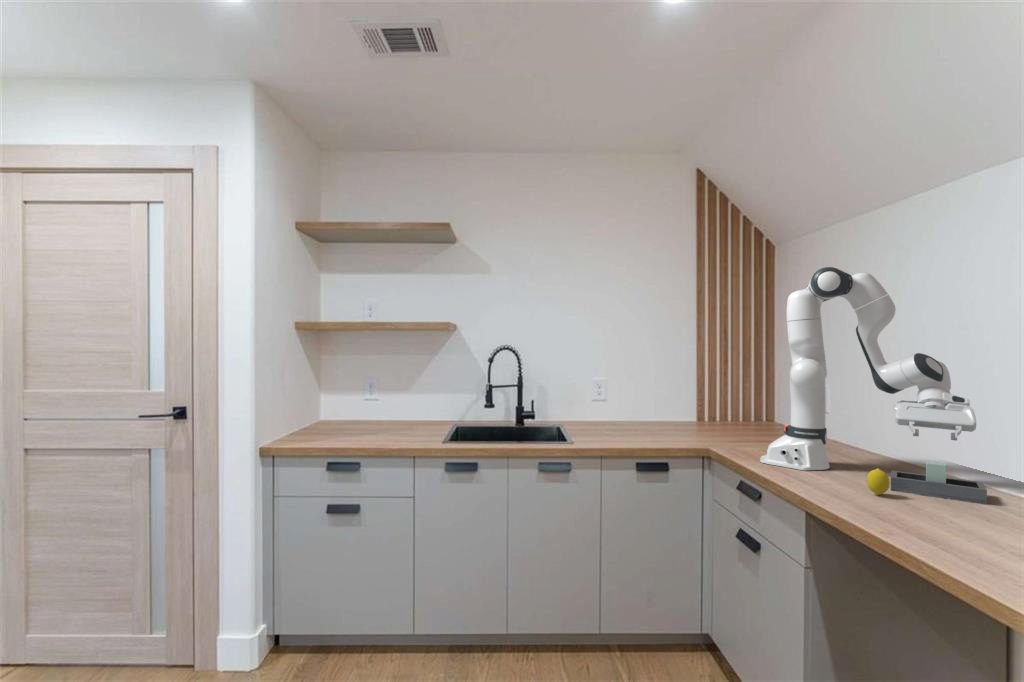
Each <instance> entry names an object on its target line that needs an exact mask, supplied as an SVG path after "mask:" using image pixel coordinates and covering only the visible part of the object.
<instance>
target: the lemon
mask: <svg viewBox="0 0 1024 682" xmlns="http://www.w3.org/2000/svg"><path fill="white" fill-rule="evenodd" d="M889 478H890V477H889V475H888V474H887V473H886V472H885V471H883V470H882V469H880V468H878V467H877V468H876V469H872V470H870V471H869V472H868V474H867V477H866V485H867V488H868V489H869V490H870V491H871V492H872V493H874V494H875V495H876V496H880V495H882V494H885V493H886V492H888V490H889V488H890V479H889Z"/></svg>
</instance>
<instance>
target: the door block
mask: <svg viewBox="0 0 1024 682" xmlns="http://www.w3.org/2000/svg"><path fill="white" fill-rule="evenodd" d="M925 465H926V466H925V475H926V481H930V482H937V483H945V484H946V478H947V464H946V463H945V462H941V461H933V460H926V461H925Z"/></svg>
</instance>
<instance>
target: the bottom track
mask: <svg viewBox="0 0 1024 682" xmlns="http://www.w3.org/2000/svg"><path fill="white" fill-rule="evenodd" d="M890 471H891V472H890V491H893V492H898V493H899V492H901V493H907V494H913V495H920V496H927V497H934V498H941V499H945V500H947V499H948V500H954V501H961V502H966V503H976V504H979V505H980V504H981V505H988V501H987V500H988V490H987V488H986V486H985V484H984V483H983V481H975V480H969V479H968V480H967V479H960V478H953V477H946V484H945V483H937V482H930V481H926V474H922V473H915V472H914V473H913V472H908V471H899V470H890Z"/></svg>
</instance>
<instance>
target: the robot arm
mask: <svg viewBox="0 0 1024 682" xmlns="http://www.w3.org/2000/svg"><path fill="white" fill-rule="evenodd" d="M839 297H840V298H843V299H845V300H847V302H849V304H850V305H851V308H852V309H853V310H854V312H855V314H856V317H857V322H858V324H857V326H856V327H855V332H856V336H857V340H858V342H859V345H860V347H861V349H862V352H863V355H864V357H865V359H866V361H867V363H868V366H869V369H870V372H871V376H872V380H873V382H874V385H875V386H876V388H877V389H878V390H880V391H882V392H884V393H886V394H890V395H893V394H896V393H899V392H902V391H904V390H906V389H909V388H911V387H915V386H917V389H918V391H917V401H915V400H900V401H897V402H895V403H894V410H896V412H895V423H896V424H897V425H898V426H908V428H909V431H911V432H912V437H919V436H920V435H919V434H920V431H919V429H918V428H926V429H928V428H929V429H937V430H938V429H940V430H950V431H955V432H951V433H950V440H951V441H958V437H959V436H960V435H961V433H962V432H970V433H973V432H975V430H976V429H977V419H976V414H975V411H974V409H973V408H972V407H971V403H970V400H969V399H968V398H966V397H963V396H958V395H955V394H952V393H951V389H952V381H951V375H950V372H949V369H948V367H947V366H946V364H945V363H943V362H942V361H939V360H936V359H935V358H934V357H932V356H930V355H928V354H925V353H922V352H921V353H920V352H917V353H914V354H909V355H908V356H905V357H901V359H898V360H895V361H892V362H887V361H886V359H885V357H884V355H883V352H882V351H881V347H880V345H879V343H878V337H879V336H880V335H879V334H880V333H881V332H882V331H883V330H884V329H885V328H886V327H887V326H888V325H889V324H890V323H891V322H892V321H893V319H894V317H895V314H896V311H897V309H896V305H895V303H894V301H893V300H892V298H891V296H890V295H889V294H888V292H887V290H886V289H885V288H884V286H883V285H882V284H881V283H880V281H878V280H877V279H876V278H875V276H873V275H872V273H869V272H865V271H864V272H858V273H854V274H852V275H851V274H850V273H847V272H845V271H844V270H841V269H839V268H836V267H834V266H833V267H832V266H826V267H821V268H820V269H818V270H817V271H815V272H814V273H813V274H812V276H811V277H810V280H809V282H808V284H807V287H806V288H804V289H798V290H796V291H793V292H791V293H790V294H789V295H788V297H787V301H786V310H785V311H786V312H785V313H786V315H785V316H786V317H785V318H786V328H787V339H788V347H789V353H790V359H791V367H790V370H789V395H790V396H789V397H790V424H788V423H787V424H785V425H784V429H783V432H784V433H783V434H784V435H781V436H780V437H778V438H777V439H775V440H774V441H772V442H771V443H770V444H769V445H768V447H767V450H766V454H764V455H762V456H760V458H759V461H760V462H761V463H762V464H767V465H771V466H772V465H773V466H778V467H784V468H788V469H794V470H799V471H817V470H818V471H821V470H822V471H824V470H828V469H830V468H831V466H830V463H829V458H828V455H827V454H828V453H827V447H826V445H827V442H828V441H827V440H828V431H827V430H828V429H827V427H826V408H827V407H826V378H827V374H828V369H827V363H826V353H825V345H824V337H823V326H822V325H823V324H822V316H821V315H822V314H821V306H822V303H823V302H827V301H829V300H832V299H835V298H839ZM917 427H918V428H917Z"/></svg>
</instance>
